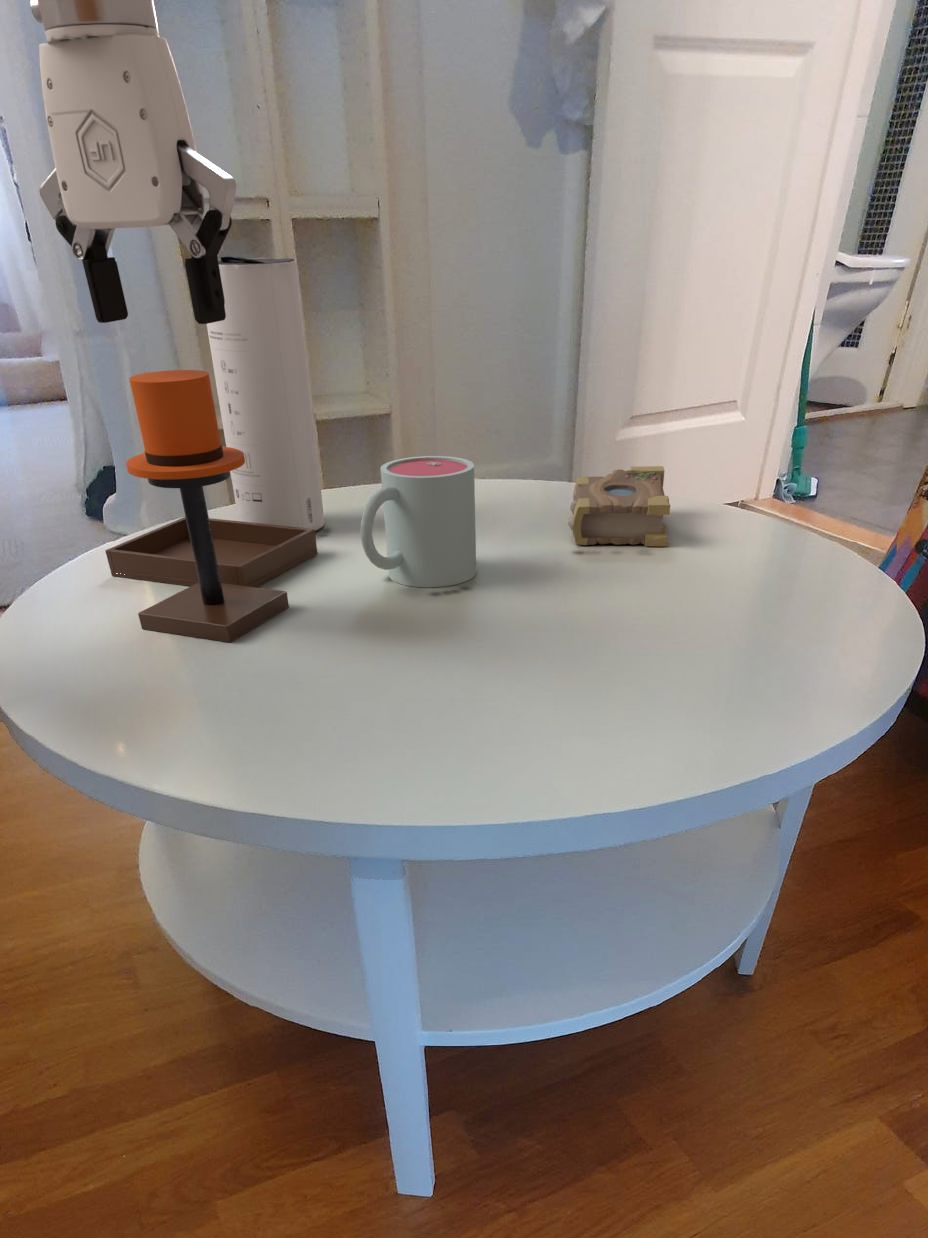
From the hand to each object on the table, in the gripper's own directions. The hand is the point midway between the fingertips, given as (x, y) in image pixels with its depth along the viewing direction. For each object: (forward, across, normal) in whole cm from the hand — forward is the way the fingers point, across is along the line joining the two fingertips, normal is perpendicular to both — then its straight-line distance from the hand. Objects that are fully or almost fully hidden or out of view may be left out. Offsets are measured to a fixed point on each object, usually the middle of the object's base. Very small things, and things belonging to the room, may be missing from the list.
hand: (161, 321), depth 74 cm
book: (+24, +27, +41) cm, 54 cm away
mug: (+24, +13, +17) cm, 32 cm away
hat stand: (+23, 0, 0) cm, 23 cm away
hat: (+10, 0, 0) cm, 10 cm away
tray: (+23, -10, +14) cm, 29 cm away
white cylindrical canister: (+24, -11, +29) cm, 39 cm away
